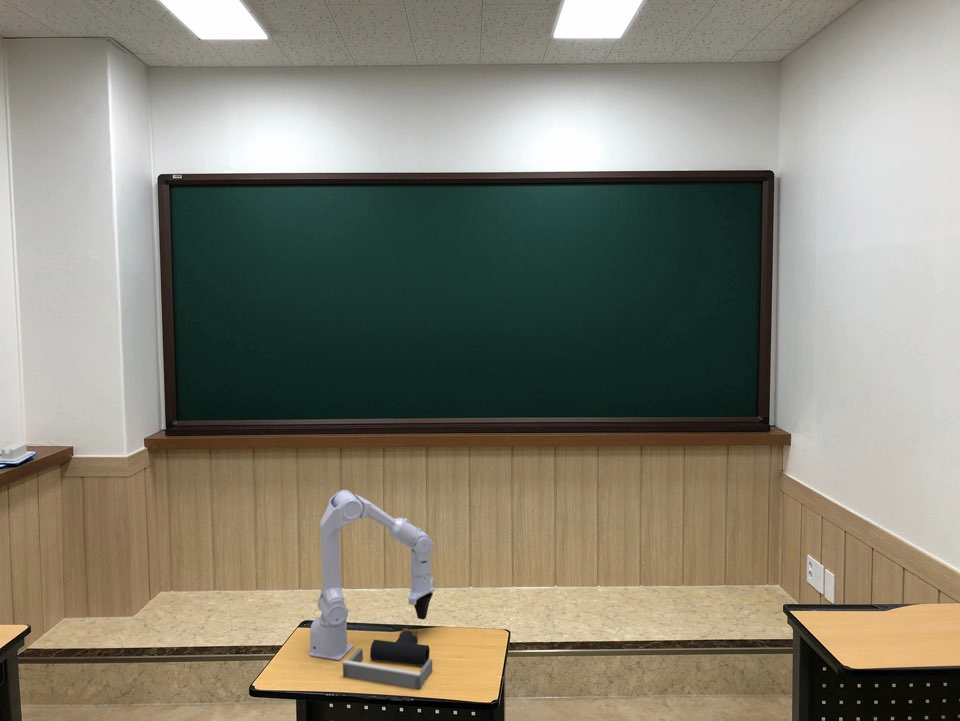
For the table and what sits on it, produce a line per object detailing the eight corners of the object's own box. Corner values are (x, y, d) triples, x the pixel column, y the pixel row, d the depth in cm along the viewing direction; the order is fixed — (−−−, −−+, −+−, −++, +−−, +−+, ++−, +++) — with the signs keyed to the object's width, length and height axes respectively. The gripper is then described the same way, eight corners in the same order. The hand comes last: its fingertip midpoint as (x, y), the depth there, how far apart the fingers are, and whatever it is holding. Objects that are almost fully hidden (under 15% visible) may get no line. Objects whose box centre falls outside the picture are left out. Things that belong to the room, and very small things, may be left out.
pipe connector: (385, 624, 189) (436, 629, 186) (385, 641, 190) (436, 647, 186) (369, 645, 178) (423, 651, 175) (370, 664, 178) (424, 670, 175)
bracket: (343, 676, 171) (342, 662, 171) (359, 658, 180) (359, 644, 180) (419, 689, 165) (418, 674, 165) (432, 670, 174) (432, 656, 174)
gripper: (424, 584, 186) (425, 631, 187) (442, 564, 199) (443, 608, 201) (401, 581, 188) (402, 628, 189) (420, 562, 201) (421, 605, 203)
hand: (422, 618), depth 195 cm, fingers closed
